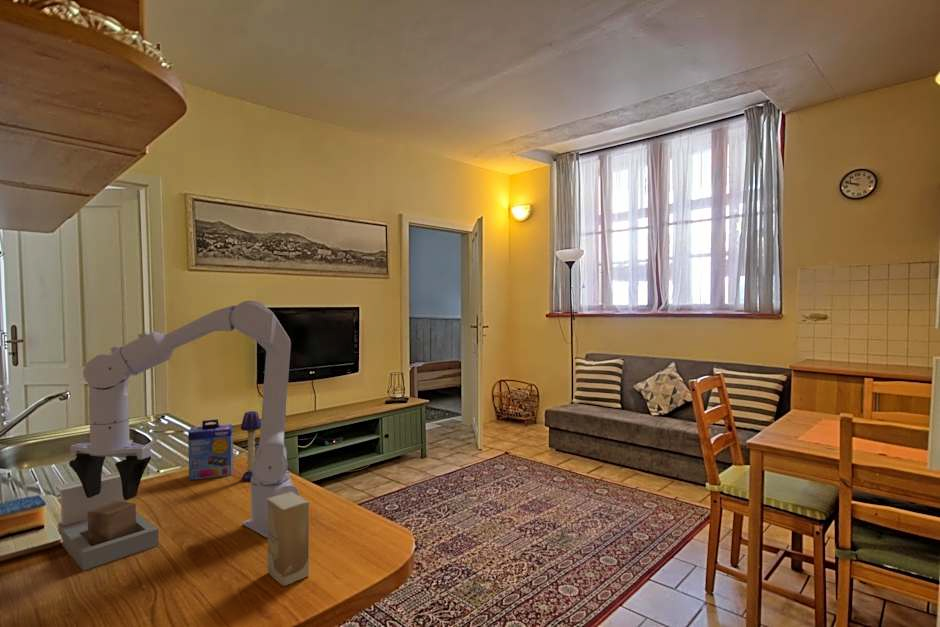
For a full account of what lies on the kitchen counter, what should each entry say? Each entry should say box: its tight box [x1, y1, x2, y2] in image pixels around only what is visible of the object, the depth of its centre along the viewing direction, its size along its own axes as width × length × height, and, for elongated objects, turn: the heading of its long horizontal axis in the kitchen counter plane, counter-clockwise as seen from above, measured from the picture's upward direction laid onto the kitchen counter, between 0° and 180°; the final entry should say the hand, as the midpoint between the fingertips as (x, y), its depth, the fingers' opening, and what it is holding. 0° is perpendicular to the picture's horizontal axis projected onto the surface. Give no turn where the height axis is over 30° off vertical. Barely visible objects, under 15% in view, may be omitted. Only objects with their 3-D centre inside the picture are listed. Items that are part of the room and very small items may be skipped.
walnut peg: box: [88, 501, 137, 546], centre depth 90 cm, size 5×5×7 cm
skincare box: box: [267, 492, 310, 587], centre depth 80 cm, size 6×4×12 cm
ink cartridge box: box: [187, 419, 234, 481], centre depth 128 cm, size 10×6×14 cm, turn 113°
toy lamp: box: [240, 410, 261, 482], centre depth 125 cm, size 5×5×17 cm
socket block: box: [55, 471, 160, 571], centre depth 92 cm, size 18×11×10 cm, turn 50°
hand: (111, 496), depth 90 cm, fingers open, 7 cm apart
